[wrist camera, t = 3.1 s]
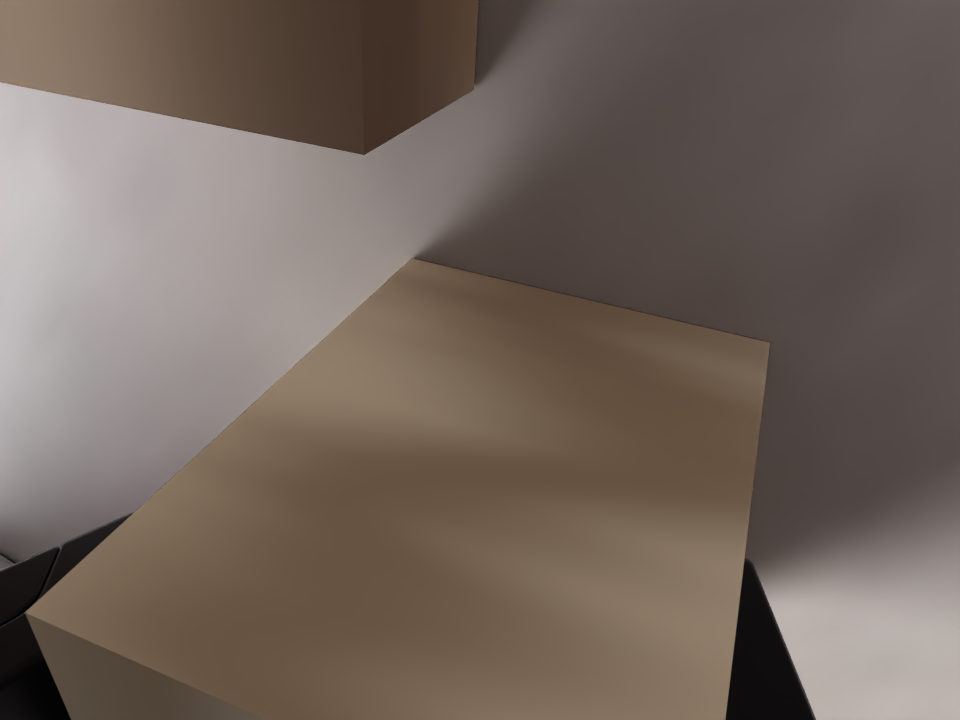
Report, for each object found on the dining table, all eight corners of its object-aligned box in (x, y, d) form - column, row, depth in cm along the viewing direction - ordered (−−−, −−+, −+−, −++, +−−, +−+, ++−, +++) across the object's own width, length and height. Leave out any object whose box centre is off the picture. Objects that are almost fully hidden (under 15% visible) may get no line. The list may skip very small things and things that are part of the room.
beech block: (769, 343, 9) (701, 913, 4) (685, 599, 11) (581, 1136, 6) (412, 257, 10) (26, 613, 5) (409, 507, 12) (149, 898, 8)
